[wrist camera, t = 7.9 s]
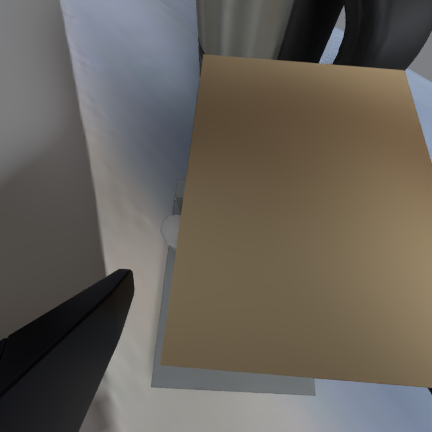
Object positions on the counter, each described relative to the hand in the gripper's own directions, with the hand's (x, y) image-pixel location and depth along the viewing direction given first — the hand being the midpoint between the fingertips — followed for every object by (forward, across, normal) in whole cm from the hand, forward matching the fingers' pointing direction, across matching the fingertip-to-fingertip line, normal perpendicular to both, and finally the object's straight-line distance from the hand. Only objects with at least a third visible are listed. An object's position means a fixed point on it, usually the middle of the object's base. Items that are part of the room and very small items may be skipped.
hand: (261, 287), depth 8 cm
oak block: (+6, 0, +4) cm, 7 cm away
